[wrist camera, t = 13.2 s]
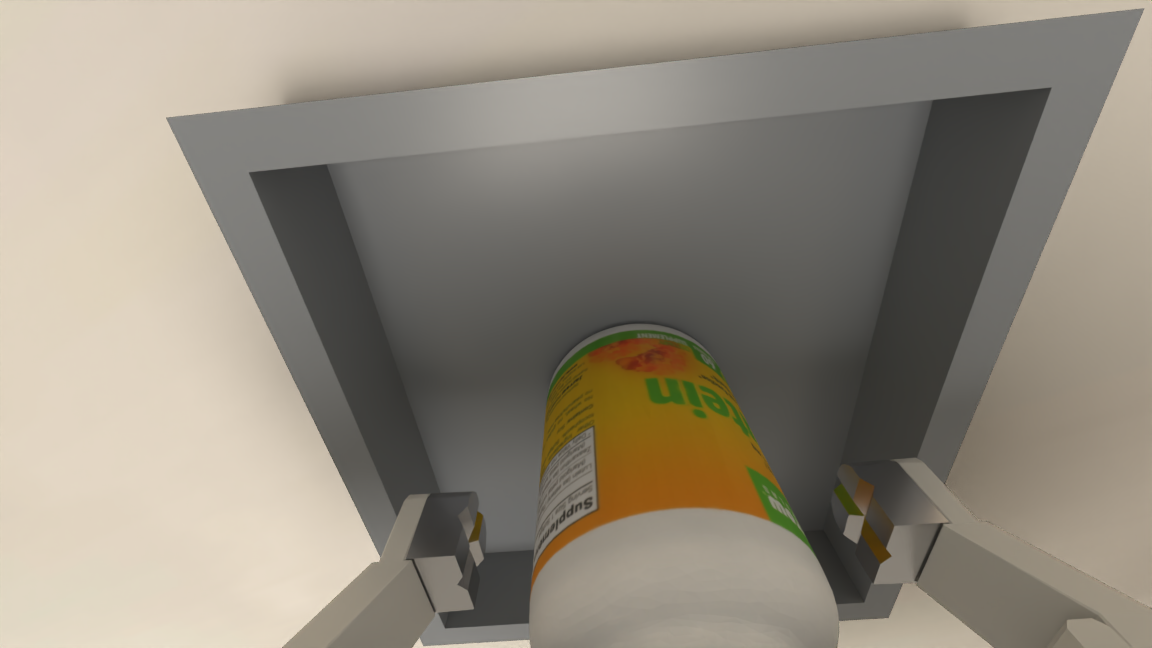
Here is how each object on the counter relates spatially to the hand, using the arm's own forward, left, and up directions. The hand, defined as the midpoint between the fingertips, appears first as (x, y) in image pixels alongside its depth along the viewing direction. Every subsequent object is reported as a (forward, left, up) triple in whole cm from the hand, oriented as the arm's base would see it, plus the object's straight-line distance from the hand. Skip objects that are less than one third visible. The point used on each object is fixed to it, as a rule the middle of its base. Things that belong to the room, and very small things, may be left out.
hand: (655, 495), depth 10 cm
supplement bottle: (0, 0, -4) cm, 4 cm away
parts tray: (0, 0, -5) cm, 5 cm away
